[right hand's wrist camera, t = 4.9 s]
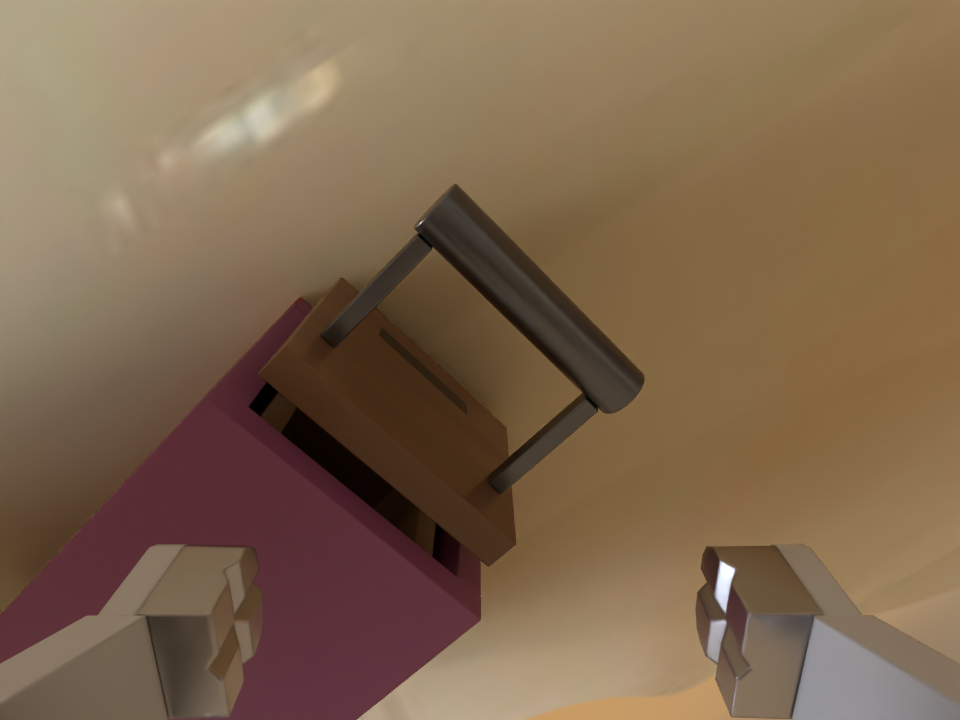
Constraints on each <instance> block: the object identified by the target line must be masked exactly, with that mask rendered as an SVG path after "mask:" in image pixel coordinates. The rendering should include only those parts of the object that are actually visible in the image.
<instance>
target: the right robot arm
mask: <svg viewBox="0 0 960 720" xmlns="http://www.w3.org/2000/svg"><path fill="white" fill-rule="evenodd" d="M258 570H259V563H258V558H257V552H256V550H255V549H254V548H253V547H252V546H244V545H198V544H189V545H185V544H157V545H154V546H152V547H150V548H149V549H148V550H147V551H146V552H145V554H144V555H143V556H142V558H141V559H140V560H139V561H138V563H137V564H136V565H135V567H134V568H133V569H132V571H131V572H130V573H129V575H128V576H127V577H126V578H125V580H124V581H123V582H122V584H121V585H120V586H119V588H118V589H117V590H116V592H115V593H114V594H113V595H112V597H111V598H110V599H109V601H108V602H107V603H106V605H105V606H104V607H103V609H102V610H101V611H100V612H99V614H98V615H90V616H85V617H83V618H82V619H80V620H78V621H76V622H74V623H73V624H71V625H69V626H67V627H65V628H64V629H62V630H60V631H58V632H56V633H55V634H53V635H51V636H49V637H47V638H46V639H44V640H42V641H40V642H38V643H37V644H35V645H33V646H31V647H29V648H28V649H26V650H24V651H22V652H20V653H19V654H17V655H15V656H13V657H11V658H10V659H8V660H6V661H4V662H2V663H1V664H0V720H168V719H186V718H220V717H229V716H230V713H231V711H232V709H233V706H234V704H235V702H236V699H237V697H238V694H239V692H240V690H241V687H242V685H243V682H244V680H245V678H244V671H243V664H244V663H246V662H247V661H248V660H250V659H251V658H252V657H254V656H255V653H256V651H257V648H258V646H259V643H260V640H261V635H262V630H263V625H264V599H263V592H262V591H261V590H260V589H259V588H258V587H257V586H256V585H255V584H254V583H253V581H254V579H255V577H256V575H257V572H258ZM701 570H702V572H703V574H704V577H705V579H706V581H707V583H706V584H705V585H704V586H703V587H702V588H701V589H700V590H699V591H698V592H697V601H696V624H697V631H698V635H699V639H700V643H701V646H702V648H703V651H704V653H705V656H707V657H708V658H709V659H710V660H712V661H713V662H714V663H716V664H717V672H716V678H715V680H716V682H717V685H718V687H719V689H720V692H721V694H722V696H723V699H724V701H725V704H726V706H727V708H728V711H729V713H730V715H731V717H740V718H774V719H792V720H960V664H959V663H957V662H956V661H954V660H952V659H950V658H949V657H947V656H945V655H943V654H941V653H940V652H938V651H936V650H934V649H932V648H931V647H929V646H927V645H925V644H923V643H922V642H920V641H918V640H916V639H914V638H913V637H911V636H909V635H907V634H905V633H904V632H902V631H900V630H898V629H896V628H895V627H893V626H891V625H889V624H888V623H886V622H884V621H882V620H880V619H879V618H877V617H875V616H871V615H862V614H861V612H860V611H859V610H858V608H857V607H856V606H855V605H854V603H853V602H852V601H851V599H850V598H849V597H848V595H847V594H846V593H845V592H844V590H843V589H842V588H841V586H840V585H839V584H838V582H837V581H836V580H835V579H834V577H833V576H832V575H831V573H830V572H829V571H828V569H827V568H826V567H825V566H824V564H823V563H822V562H821V560H820V559H819V558H818V556H817V555H816V554H815V553H814V551H813V550H812V549H811V548H810V547H809V546H807V545H805V544H781V545H771V546H706V549H705V551H704V553H703V557H702V563H701Z"/></svg>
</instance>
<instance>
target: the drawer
mask: <svg viewBox="0 0 960 720" xmlns="http://www.w3.org/2000/svg"><path fill="white" fill-rule="evenodd" d="M414 229H415V230H416V231H417V233H416V234H415V235H414V237H413V238H412V239H411V240H410V241H409V242H408V243H407V244H406V245H405V246H404V247H403V248H402V249H401V250H400V251H399V252H398V253H397V254H396V255H395V256H394V257H393V258H392V259H391V260H390V261H389V262H388V263H387V265H386V266H385V267H384V268H383V269H382V270H381V271H380V272H379V273H378V274H377V275H376V276H375V277H374V278H373V279H372V280H371V281H370V282H369V283H368V284H367V285H366V286H365V287H364V288H363V289H362V290H361V291H360V292H358V291H357V290H355V289H354V288H353V287H352V286H351V285H350V284H349V283H348V282H347V281H346V280H345V279H343V278H342V277H341V278H340V279H339V280H338V281H337V282H336V283H335V284H334V285H333V286H332V287H331V288H330V290H329V291H328V292H327V293H326V294H325V295H324V296H323V297H322V298H321V299H320V300H319V302H318V303H317V304H316V305H315V306H314V307H313V309H312V310H311V311H310V312H309V313H308V315H307V316H306V317H305V318H304V319H303V320H302V322H301V323H300V324H299V325H298V326H297V328H296V329H295V330H294V331H293V332H292V334H291V335H290V336H289V337H288V338H287V339H286V341H285V342H284V343H283V344H282V345H281V347H280V348H279V349H278V350H277V351H276V352H275V354H274V355H273V356H272V357H271V358H270V360H269V361H268V362H267V363H266V364H265V365H264V367H263V368H262V369H261V370H260V371H259V373H258V375H259V376H260V377H261V378H263V379H264V380H265V381H266V382H267V383H269V384H270V385H271V386H272V387H271V388H270V389H269V390H268V391H267V392H266V393H265V394H264V395H263V396H262V397H261V398H260V399H259V401H258V402H257V403H256V404H255V405H254V406H253V407H252V408H251V410H253V411H254V412H255V413H256V414H257V415H259V416H260V417H261V418H262V419H264V420H265V421H266V422H267V423H268V424H270V425H271V426H272V427H273V428H275V429H276V430H277V431H278V432H280V433H281V434H282V435H283V436H284V437H286V438H287V439H288V440H289V441H291V442H292V443H293V444H294V445H295V446H297V447H298V448H299V449H300V450H302V451H303V452H304V453H305V454H307V455H308V456H309V457H310V458H311V459H313V460H314V461H315V462H316V463H318V464H319V465H320V466H321V467H322V468H324V469H325V470H326V471H327V472H329V473H330V474H331V475H332V476H334V477H335V478H336V479H337V480H338V481H340V482H341V483H342V484H343V485H345V486H346V487H347V488H348V489H349V490H351V491H352V492H353V493H354V494H356V495H357V496H358V497H359V498H361V499H362V500H363V501H364V502H365V503H367V504H368V505H369V506H370V507H372V508H373V509H374V510H375V511H376V512H378V513H379V514H380V515H381V516H383V517H384V518H385V519H386V520H388V521H389V522H390V523H391V524H392V525H394V526H395V527H396V528H397V529H399V530H400V531H401V532H402V533H403V534H405V535H406V536H407V537H408V538H410V539H411V540H412V541H413V542H415V543H416V544H417V545H418V546H419V547H421V548H422V549H423V550H424V551H426V552H427V553H428V554H429V555H430V556H433V547H434V537H435V528H436V524H438V525H439V526H440V527H441V528H442V529H444V530H445V531H446V532H447V533H448V534H450V535H451V536H452V537H453V538H454V539H456V540H457V541H458V542H459V543H460V544H462V545H463V546H464V547H465V548H466V549H468V550H469V551H470V552H471V553H472V554H474V555H475V556H476V557H477V558H478V559H480V560H481V561H482V562H483V563H484V564H486V565H487V566H490V565H492V564H493V563H494V562H495V561H496V560H498V559H499V558H500V557H501V556H502V555H504V554H505V553H506V552H507V551H509V550H510V549H511V548H512V547H513V546H515V545H516V533H515V522H514V510H513V498H512V487H511V485H513V484H514V483H515V482H516V481H517V480H518V479H520V478H521V477H522V476H523V475H524V474H525V473H527V472H528V471H529V470H530V469H531V468H532V467H534V466H535V465H536V464H537V463H538V462H539V461H541V460H542V459H543V458H544V457H545V456H546V455H548V454H549V453H550V452H551V451H552V450H553V449H555V448H556V447H557V446H558V445H559V444H560V443H562V442H563V441H564V440H565V439H566V438H567V437H569V436H570V435H571V434H572V433H573V432H574V431H576V430H577V429H578V428H579V427H580V426H581V425H583V424H584V423H585V422H586V421H587V420H588V419H590V418H591V417H592V416H593V415H594V414H595V413H597V412H598V408H599V409H600V410H601V411H602V412H603V413H606V414H611V413H615V412H617V411H619V410H621V409H622V408H624V407H625V406H627V405H628V404H629V403H630V402H631V401H632V400H633V399H634V398H635V397H636V396H637V394H638V393H639V392H640V390H641V388H642V386H643V384H644V375H643V373H642V372H641V371H640V370H639V369H638V368H637V367H636V366H635V365H634V364H633V363H632V362H631V361H630V360H629V359H628V358H627V357H626V356H625V355H624V354H623V353H622V352H621V351H620V350H619V349H618V348H617V347H616V346H615V345H614V344H613V342H612V341H611V340H610V339H609V338H608V337H607V336H606V335H605V334H604V333H603V332H602V331H601V330H600V329H599V328H598V327H597V326H596V325H595V324H594V323H593V322H592V321H591V320H590V319H589V318H588V317H587V316H586V315H585V314H584V313H583V312H582V311H581V310H580V309H579V308H578V307H577V306H576V305H575V304H574V303H573V302H572V301H571V300H570V299H569V298H568V297H567V296H566V295H565V294H564V293H563V292H562V291H561V290H560V289H559V288H558V287H557V286H556V284H555V283H554V282H553V281H552V280H551V279H550V278H549V277H548V276H547V275H546V274H545V273H544V272H543V271H542V270H541V269H540V268H539V267H538V266H537V265H536V264H535V263H534V262H533V261H532V260H531V259H530V258H529V257H528V256H527V255H526V254H525V253H524V252H523V251H522V250H521V249H520V248H519V247H518V246H517V245H516V244H515V243H514V242H513V241H512V240H511V239H510V238H509V237H508V236H507V235H506V234H505V233H504V232H503V231H502V230H501V229H500V228H499V226H498V225H497V224H496V223H495V222H494V221H493V220H492V219H491V218H490V217H489V216H488V215H487V214H486V213H485V212H484V211H483V210H482V209H481V208H480V207H479V206H478V205H477V204H476V203H475V202H474V201H473V200H472V199H471V198H470V197H469V196H468V195H467V194H466V193H465V192H464V191H463V190H462V189H461V188H460V187H459V186H458V185H457V184H454V185H452V186H451V187H450V188H449V189H448V190H447V191H446V192H445V193H444V194H443V195H442V196H441V197H440V198H439V199H438V200H437V201H436V202H435V203H434V204H433V205H432V206H431V207H430V208H429V210H428V211H427V212H426V213H425V214H424V215H423V216H422V217H421V218H420V220H419V221H418V222H417V223H416V224H415V226H414ZM432 247H433V248H435V249H436V250H437V251H438V252H439V253H440V254H441V255H442V256H443V257H444V258H445V259H446V260H447V261H448V262H449V263H450V264H451V265H452V266H453V267H454V268H455V269H456V270H457V271H458V272H459V273H460V274H461V275H462V276H463V277H464V278H465V279H466V280H467V281H468V282H469V283H470V284H471V285H473V286H474V287H475V288H476V289H477V290H478V291H479V292H480V293H481V294H482V295H483V296H484V297H485V298H486V299H487V300H488V301H489V302H490V303H491V304H492V305H493V306H494V307H495V308H496V309H497V310H498V311H499V312H500V313H501V314H502V315H503V316H504V317H505V318H506V319H507V320H508V321H510V322H511V323H512V324H513V325H514V326H515V327H516V328H517V329H518V330H519V331H520V332H521V333H522V334H523V335H524V336H525V337H526V338H527V339H528V340H529V341H530V342H531V343H532V344H533V345H534V346H535V347H536V348H537V349H538V350H539V351H540V352H541V353H542V354H543V355H544V356H545V357H547V358H548V359H549V360H550V361H551V362H552V363H553V364H554V365H555V366H556V367H557V368H558V369H559V370H560V371H561V372H562V373H563V374H564V375H565V376H566V377H567V378H568V379H569V380H570V381H571V382H572V383H573V384H574V385H575V386H576V387H577V388H578V389H579V390H580V391H581V392H582V394H581V395H580V396H579V397H577V398H576V399H575V400H574V401H573V402H572V403H571V404H569V405H568V406H567V407H566V408H565V409H564V410H563V411H561V412H560V413H559V414H558V415H557V416H556V417H555V418H553V419H552V420H551V421H550V422H549V423H548V424H546V425H545V426H544V427H543V428H542V429H541V430H540V431H538V432H537V433H536V434H535V435H534V436H533V437H532V438H530V439H529V440H528V441H527V442H526V443H525V444H524V445H522V446H521V447H520V448H519V449H518V450H517V451H516V452H514V453H513V454H512V455H511V456H510V457H509V452H508V440H507V428H506V427H505V426H504V425H503V424H502V423H501V422H500V421H499V420H497V419H496V418H495V417H494V416H493V415H492V414H491V413H490V412H489V411H488V410H487V409H485V408H484V407H483V406H482V405H481V404H480V403H479V402H478V401H477V400H476V399H475V398H473V397H472V396H471V395H470V394H469V393H468V392H467V391H466V390H465V389H464V388H463V387H461V386H460V385H459V384H458V383H457V382H456V381H455V380H454V379H453V378H452V377H451V376H449V375H448V374H447V373H446V372H445V371H444V370H443V369H442V368H441V367H440V366H438V365H437V364H436V363H435V362H434V361H433V360H432V359H431V358H430V357H429V356H428V355H426V354H425V353H424V352H423V351H422V350H421V349H420V348H419V347H418V346H417V345H416V344H414V343H413V342H412V341H411V340H410V339H409V338H408V337H407V336H406V335H405V334H404V333H402V332H401V331H400V330H399V329H398V328H397V327H396V326H395V325H394V324H393V323H392V322H390V321H389V320H388V319H387V318H386V317H385V316H384V315H383V314H382V313H381V312H379V311H378V310H377V309H376V308H375V307H376V306H377V305H378V304H379V303H380V302H381V301H382V300H383V299H384V298H385V297H386V296H387V295H388V294H389V293H390V292H391V291H392V290H393V289H394V288H395V287H396V286H397V285H398V284H399V283H400V282H401V281H402V280H403V279H404V278H405V277H406V276H407V275H408V274H409V273H410V272H411V271H412V270H413V269H414V268H415V267H416V265H417V264H418V263H419V262H420V261H421V260H422V259H423V258H424V257H425V256H426V255H427V254H428V253H429V252H430V251H431V250H432ZM597 407H598V408H597Z"/></svg>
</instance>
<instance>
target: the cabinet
mask: <svg viewBox="0 0 960 720" xmlns="http://www.w3.org/2000/svg"><path fill="white" fill-rule="evenodd" d="M311 310H312V308H311V307H310V306H309V305H308V304H306V303H305V302H304V301H303V300H302V298H301V297H299V298H298V299H297V300H296V301H295V303H294V304H293V305H292V306H291V307H290V308H289V309H288V310H287V311H286V312H285V313H284V314H283V315H282V316H281V317H280V318H279V319H278V321H277V322H276V323H275V324H274V325H273V326H272V327H271V328H270V329H269V330H268V331H267V332H266V333H265V334H264V335H263V336H262V337H261V338H260V339H259V340H258V341H257V342H256V343H255V344H254V345H253V346H252V347H251V349H250V350H249V351H248V352H247V353H246V354H245V355H244V356H243V357H242V358H241V359H240V360H239V361H238V362H237V363H236V364H235V365H234V366H233V367H232V368H231V369H230V370H229V371H228V372H227V373H226V374H225V375H224V377H223V378H222V379H221V380H220V381H219V382H218V383H217V384H216V385H215V386H214V387H213V388H212V389H211V390H210V391H209V392H208V393H207V394H206V395H205V396H204V397H203V398H202V399H201V400H200V402H199V403H198V404H197V405H196V406H195V407H194V408H193V409H192V410H191V411H190V412H189V413H188V414H187V415H186V417H185V418H184V419H183V420H182V421H181V422H180V423H179V424H178V425H177V426H176V427H175V428H174V429H173V430H172V432H171V433H170V434H169V435H168V436H167V437H166V438H165V439H164V440H163V441H162V442H161V443H160V444H159V445H158V447H157V448H156V449H155V450H154V451H153V452H152V453H151V454H150V455H149V456H148V457H147V458H146V459H145V460H144V462H143V463H142V464H141V465H140V466H139V467H138V468H137V469H136V470H135V471H134V472H133V473H132V474H131V475H130V477H129V478H128V479H127V480H126V481H125V482H124V483H123V484H122V485H121V486H120V487H119V488H118V489H117V490H116V492H115V493H114V494H113V495H112V496H111V497H110V498H109V499H108V500H107V501H106V502H105V503H104V504H103V505H102V506H101V508H100V509H99V510H98V511H97V512H96V513H95V514H94V515H93V516H92V517H91V518H90V519H89V520H88V521H87V523H86V524H85V525H84V526H83V527H82V528H81V529H80V530H79V531H78V532H77V533H76V534H75V535H74V536H73V538H72V539H71V540H70V541H69V542H68V543H67V544H66V545H65V546H64V547H63V548H62V549H61V550H60V551H59V553H58V554H57V555H56V556H55V557H54V558H53V559H52V560H51V561H50V562H49V563H48V564H47V565H46V566H45V568H44V569H43V570H42V571H41V572H40V573H39V574H38V575H37V576H36V577H35V578H34V579H33V580H32V581H31V583H30V584H29V585H28V586H27V587H26V588H25V589H24V590H23V591H22V592H21V593H20V594H19V595H18V596H17V598H16V599H15V600H14V601H13V602H12V603H11V604H10V605H9V606H8V607H7V608H6V609H5V610H4V611H3V613H2V614H1V615H0V664H1V663H2V662H4V661H6V660H8V659H10V658H11V657H13V656H15V655H17V654H19V653H20V652H22V651H24V650H26V649H28V648H29V647H31V646H33V645H35V644H37V643H38V642H40V641H42V640H44V639H46V638H47V637H49V636H51V635H53V634H55V633H56V632H58V631H60V630H62V629H64V628H65V627H67V626H69V625H71V624H73V623H74V622H76V621H78V620H80V619H82V618H83V617H85V616H90V615H98V614H99V612H100V611H101V610H102V609H103V607H104V606H105V605H106V603H107V602H108V601H109V599H110V598H111V597H112V595H113V594H114V593H115V592H116V590H117V589H118V588H119V586H120V585H121V584H122V582H123V581H124V580H125V578H126V577H127V576H128V575H129V573H130V572H131V571H132V569H133V568H134V567H135V565H136V564H137V563H138V561H139V560H140V559H141V558H142V556H143V555H144V554H145V552H146V551H147V550H148V549H149V548H150V547H152V546H154V545H157V544H185V545H189V544H198V545H244V546H252V547H253V548H254V549H255V550H256V552H257V558H258V563H259V570H258V572H257V575H256V577H255V579H254V581H253V583H254V584H255V585H256V586H257V587H258V588H259V589H260V590H261V591H262V592H263V599H264V625H263V630H262V635H261V640H260V643H259V646H258V648H257V651H256V653H255V656H254V657H252V658H251V659H250V660H248V661H247V662H246V663H244V664H243V671H244V678H245V680H244V682H243V685H242V687H241V690H240V692H239V694H238V697H237V699H236V702H235V704H234V706H233V709H232V711H231V713H230V716H229V717H220V718H186V719H168V720H357V719H358V718H359V717H360V716H362V715H363V714H364V713H365V712H367V711H368V710H369V709H370V708H372V707H373V706H374V705H375V704H377V703H378V702H379V701H380V700H382V699H383V698H384V697H385V696H387V695H388V694H389V693H390V692H392V691H393V690H394V689H395V688H396V687H398V686H399V685H400V684H401V683H403V682H404V681H405V680H406V679H408V678H409V677H410V676H411V675H413V674H414V673H415V672H416V671H418V670H419V669H420V668H421V667H423V666H424V665H425V664H426V663H428V662H429V661H430V660H431V659H433V658H434V657H435V656H436V655H438V654H439V653H440V652H441V651H443V650H444V649H445V648H446V647H448V646H449V645H450V644H451V643H453V642H454V641H455V640H456V639H458V638H459V637H460V636H461V635H463V634H464V633H465V632H466V631H468V630H469V629H470V628H471V627H473V626H474V625H475V624H476V623H478V622H479V621H480V620H481V597H480V595H481V560H480V559H478V558H477V557H476V556H475V555H474V554H472V553H471V552H470V551H469V550H468V549H466V548H465V547H464V546H463V545H462V544H460V543H459V542H458V541H457V540H456V539H454V538H453V537H452V536H451V535H450V534H448V533H447V532H446V531H445V530H444V529H442V528H441V527H440V526H439V525H438V524H436V528H435V537H434V547H433V556H430V555H429V554H428V553H427V552H426V551H424V550H423V549H422V548H421V547H419V546H418V545H417V544H416V543H415V542H413V541H412V540H411V539H410V538H408V537H407V536H406V535H405V534H403V533H402V532H401V531H400V530H399V529H397V528H396V527H395V526H394V525H392V524H391V523H390V522H389V521H388V520H386V519H385V518H384V517H383V516H381V515H380V514H379V513H378V512H376V511H375V510H374V509H373V508H372V507H370V506H369V505H368V504H367V503H365V502H364V501H363V500H362V499H361V498H359V497H358V496H357V495H356V494H354V493H353V492H352V491H351V490H349V489H348V488H347V487H346V486H345V485H343V484H342V483H341V482H340V481H338V480H337V479H336V478H335V477H334V476H332V475H331V474H330V473H329V472H327V471H326V470H325V469H324V468H322V467H321V466H320V465H319V464H318V463H316V462H315V461H314V460H313V459H311V458H310V457H309V456H308V455H307V454H305V453H304V452H303V451H302V450H300V449H299V448H298V447H297V446H295V445H294V444H293V443H292V442H291V441H289V440H288V439H287V438H286V437H284V436H283V435H282V434H281V433H280V432H278V431H277V430H276V429H275V428H273V427H272V426H271V425H270V424H268V423H267V422H266V421H265V420H264V419H262V418H261V417H260V416H259V415H257V414H256V413H255V412H254V411H253V410H251V408H252V407H253V406H254V405H255V404H256V403H257V402H258V401H259V399H260V398H261V397H262V396H263V395H264V394H265V393H266V392H267V391H268V390H269V389H270V388H271V387H272V386H271V385H270V384H269V383H267V382H266V381H265V380H264V379H263V378H261V377H260V376H259V375H258V373H259V371H260V370H261V369H262V368H263V367H264V365H265V364H266V363H267V362H268V361H269V360H270V358H271V357H272V356H273V355H274V354H275V352H276V351H277V350H278V349H279V348H280V347H281V345H282V344H283V343H284V342H285V341H286V339H287V338H288V337H289V336H290V335H291V334H292V332H293V331H294V330H295V329H296V328H297V326H298V325H299V324H300V323H301V322H302V320H303V319H304V318H305V317H306V316H307V315H308V313H309V312H310V311H311Z"/></svg>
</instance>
